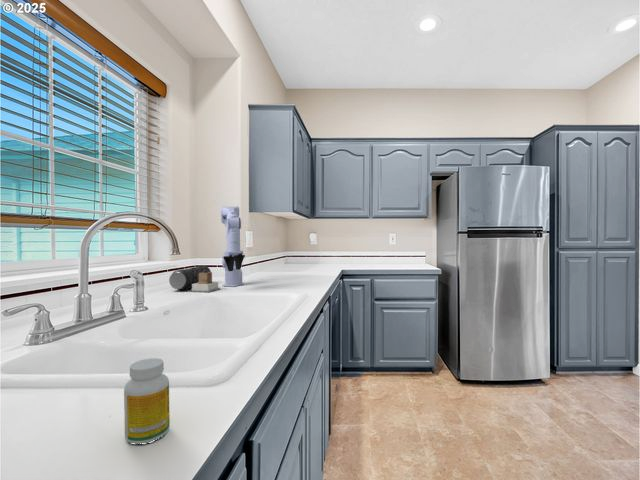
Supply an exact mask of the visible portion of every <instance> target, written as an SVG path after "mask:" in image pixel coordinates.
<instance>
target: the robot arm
mask: <svg viewBox="0 0 640 480" xmlns="http://www.w3.org/2000/svg"><path fill="white" fill-rule="evenodd" d="M241 219H242V218H241V217H240V207H239V206H238V205H237V206H226V205H225V206H224V205H221V206H220V221H221V223H222V224H224V227H225V230H226V250H225V251H224V252H223V253H222V255H221V256H222V260H221V261H222V262H221V264H222V268H223V269H224V272H225V273H224V276H225V278H224V279H225V281H224V282H225V284H224V283H223V285H222V287H239V286H242V285H244V284H245V283H244V282H243V271H242V266H243V262H244V259H245V257H246V256H245V255H246V254H244V250H241V228H242V220H241Z"/></svg>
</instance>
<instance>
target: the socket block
mask: <svg viewBox="0 0 640 480" xmlns="http://www.w3.org/2000/svg"><path fill="white" fill-rule="evenodd" d="M219 290H221V287H219V282H218V281H212V283H209V284H199V283H194V284H192V286H191V289H190V290H189V292H190V293H207V292H209V293H212V292H215V291H219Z"/></svg>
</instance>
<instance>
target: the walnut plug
mask: <svg viewBox="0 0 640 480" xmlns="http://www.w3.org/2000/svg"><path fill="white" fill-rule="evenodd" d="M212 282H213V272H212V271H211V272H207V270H204V271H203V272H202V273H199V284H209V283H212Z"/></svg>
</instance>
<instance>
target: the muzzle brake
mask: <svg viewBox="0 0 640 480" xmlns="http://www.w3.org/2000/svg"><path fill="white" fill-rule="evenodd" d="M204 270H207V272H212V271H211V269H210V268H209V267H208V266H207V265H200V266H194V267H190V268H185V269H184V268H183V269H177V270H175V271H173V272H172V273H171V274H170V276H169V280H168V281H169V286H171V288H173V289H175V290H179V291H186V290H189V288H192V284H194V283H199V273H202V272H203V271H204Z"/></svg>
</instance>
